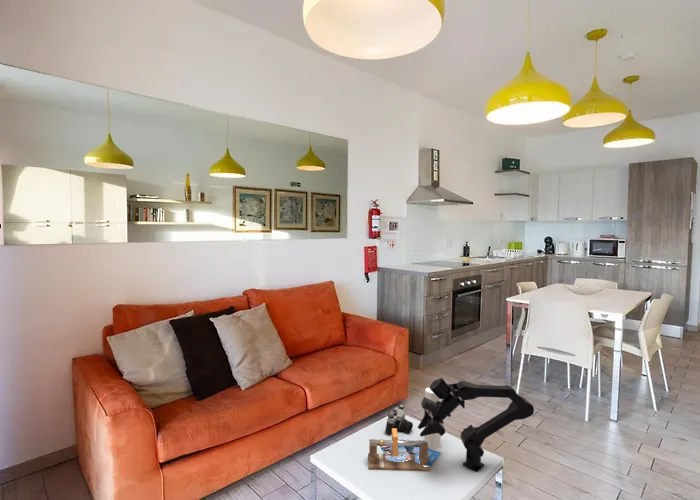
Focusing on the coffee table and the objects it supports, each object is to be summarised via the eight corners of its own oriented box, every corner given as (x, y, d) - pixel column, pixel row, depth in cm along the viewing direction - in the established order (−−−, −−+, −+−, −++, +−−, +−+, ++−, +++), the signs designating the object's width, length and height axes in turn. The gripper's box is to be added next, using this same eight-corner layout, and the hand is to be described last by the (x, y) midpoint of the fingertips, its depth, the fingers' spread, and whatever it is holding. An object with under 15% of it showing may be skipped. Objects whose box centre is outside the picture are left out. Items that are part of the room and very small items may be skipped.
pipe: (426, 445, 161) (426, 439, 161) (427, 448, 158) (427, 442, 158) (369, 443, 162) (369, 437, 162) (369, 447, 159) (369, 441, 159)
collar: (396, 446, 164) (396, 428, 163) (397, 456, 157) (398, 436, 156) (391, 446, 164) (391, 428, 163) (392, 456, 157) (393, 436, 156)
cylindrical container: (439, 440, 178) (440, 387, 177) (441, 449, 171) (442, 393, 170) (423, 439, 179) (424, 386, 178) (425, 448, 172) (426, 393, 171)
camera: (401, 442, 179) (406, 423, 177) (381, 432, 184) (385, 413, 183) (414, 429, 191) (418, 411, 190) (395, 420, 197) (398, 402, 195)
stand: (426, 457, 165) (426, 437, 164) (430, 471, 155) (430, 450, 154) (368, 455, 166) (368, 436, 165) (368, 469, 156) (368, 449, 155)
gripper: (429, 383, 168) (403, 407, 169) (437, 402, 149) (408, 429, 150) (447, 401, 168) (421, 426, 169) (457, 422, 149) (428, 449, 150)
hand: (419, 431), depth 159 cm, fingers open, 6 cm apart
